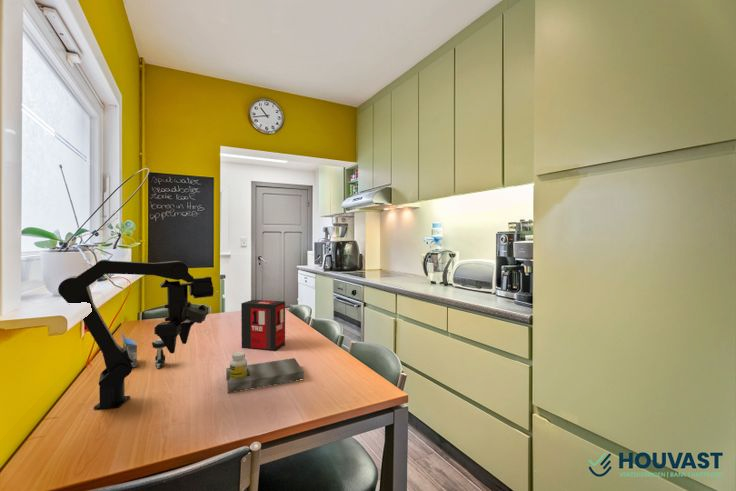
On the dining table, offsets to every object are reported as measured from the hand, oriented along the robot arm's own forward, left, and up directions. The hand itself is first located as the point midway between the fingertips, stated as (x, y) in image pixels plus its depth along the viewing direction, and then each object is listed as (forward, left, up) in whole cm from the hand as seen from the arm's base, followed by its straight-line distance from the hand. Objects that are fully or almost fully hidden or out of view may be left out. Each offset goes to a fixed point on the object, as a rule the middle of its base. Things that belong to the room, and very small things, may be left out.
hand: (178, 348), depth 108 cm
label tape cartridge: (+24, +27, -13) cm, 39 cm away
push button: (+21, +15, -13) cm, 29 cm away
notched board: (+4, -26, -13) cm, 29 cm away
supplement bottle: (+2, -18, -13) cm, 22 cm away
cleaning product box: (+40, -20, -13) cm, 47 cm away
